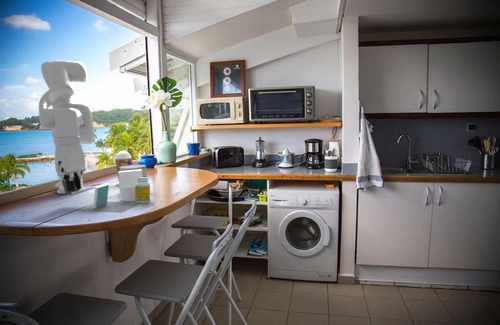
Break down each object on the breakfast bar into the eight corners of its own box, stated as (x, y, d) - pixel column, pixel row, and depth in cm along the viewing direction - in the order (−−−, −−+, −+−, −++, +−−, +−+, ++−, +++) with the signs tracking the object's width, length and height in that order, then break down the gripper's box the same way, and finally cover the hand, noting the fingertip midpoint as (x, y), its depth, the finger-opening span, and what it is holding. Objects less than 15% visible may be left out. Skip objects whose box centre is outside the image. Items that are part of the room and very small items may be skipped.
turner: (63, 195, 120) (58, 180, 119) (73, 193, 124) (69, 178, 124) (93, 188, 116) (88, 172, 115) (102, 186, 121) (98, 170, 120)
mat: (78, 212, 114) (77, 210, 114) (103, 203, 127) (102, 201, 126) (121, 214, 110) (121, 212, 110) (143, 204, 122) (142, 202, 122)
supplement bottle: (136, 203, 120) (136, 177, 120) (134, 202, 125) (134, 177, 125) (151, 202, 123) (151, 177, 123) (148, 201, 127) (148, 177, 127)
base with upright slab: (121, 203, 125) (118, 173, 123) (120, 198, 133) (117, 170, 131) (145, 200, 128) (142, 171, 127) (143, 196, 136) (140, 168, 135)
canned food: (151, 189, 149) (150, 164, 147) (141, 195, 138) (139, 168, 136) (128, 190, 150) (126, 165, 148) (116, 195, 139) (114, 168, 137)
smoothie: (117, 182, 170) (113, 145, 167) (133, 181, 173) (130, 144, 171) (117, 185, 162) (113, 146, 160) (134, 183, 166) (131, 145, 163)
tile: (93, 207, 116) (95, 186, 115) (104, 203, 122) (106, 183, 121) (95, 208, 116) (98, 187, 115) (107, 204, 122) (109, 184, 120)
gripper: (77, 140, 127) (81, 185, 130) (41, 143, 112) (48, 194, 114) (92, 140, 125) (97, 185, 128) (59, 143, 110) (65, 195, 112)
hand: (74, 189), depth 121 cm, fingers closed on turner
